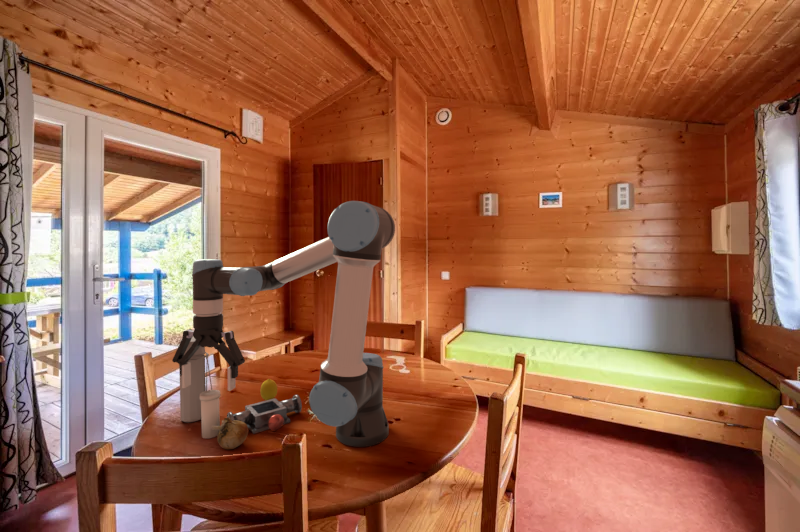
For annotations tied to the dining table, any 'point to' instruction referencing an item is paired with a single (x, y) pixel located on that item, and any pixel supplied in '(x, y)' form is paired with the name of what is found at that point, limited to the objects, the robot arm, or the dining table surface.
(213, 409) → the pipe stub
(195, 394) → the water bottle
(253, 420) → the valve body
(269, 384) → the lemon
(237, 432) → the onion
